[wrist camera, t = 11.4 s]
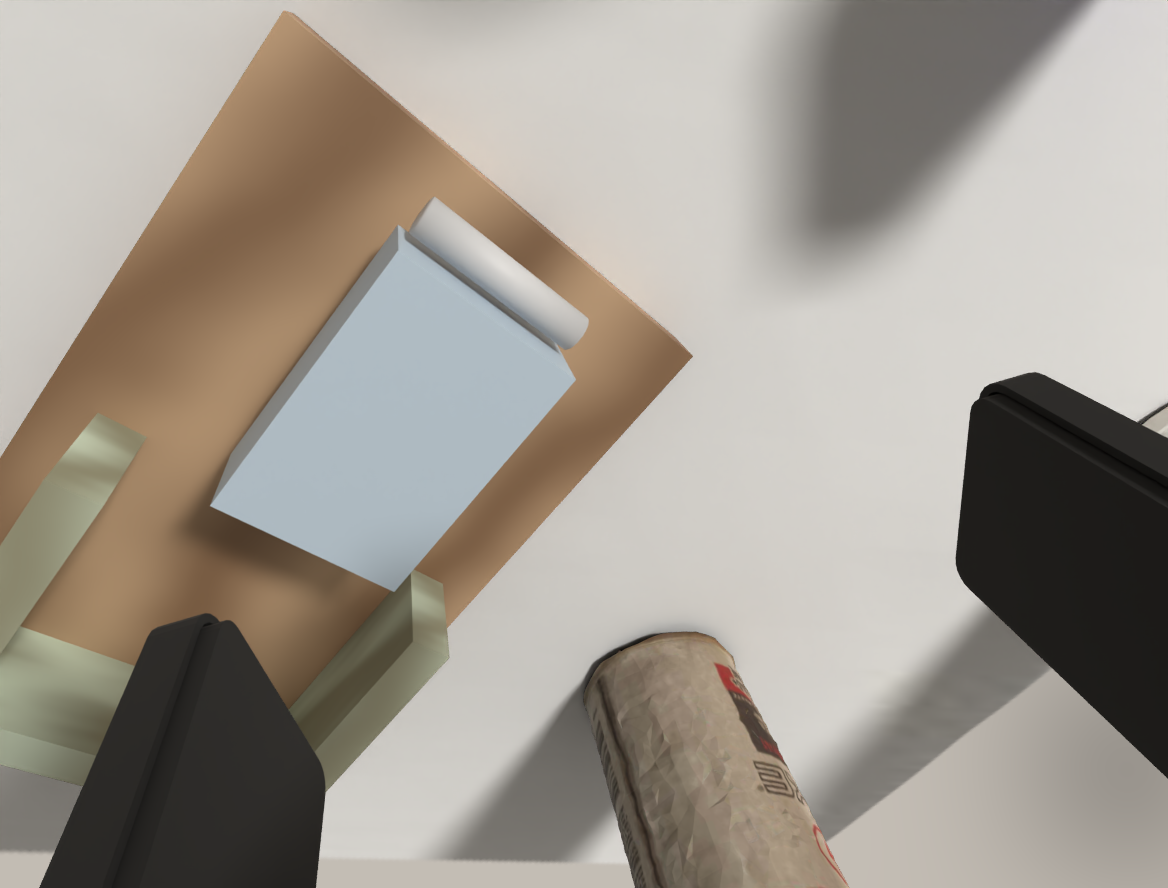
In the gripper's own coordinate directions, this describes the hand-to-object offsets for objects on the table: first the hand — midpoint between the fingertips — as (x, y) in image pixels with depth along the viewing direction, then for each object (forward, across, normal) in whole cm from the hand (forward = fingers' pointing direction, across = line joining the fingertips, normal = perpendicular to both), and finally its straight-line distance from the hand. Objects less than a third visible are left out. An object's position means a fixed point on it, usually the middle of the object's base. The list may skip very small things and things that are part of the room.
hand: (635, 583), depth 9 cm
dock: (+18, +8, +6) cm, 21 cm away
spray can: (+18, -3, +24) cm, 30 cm away
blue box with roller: (+16, +4, +3) cm, 17 cm away
